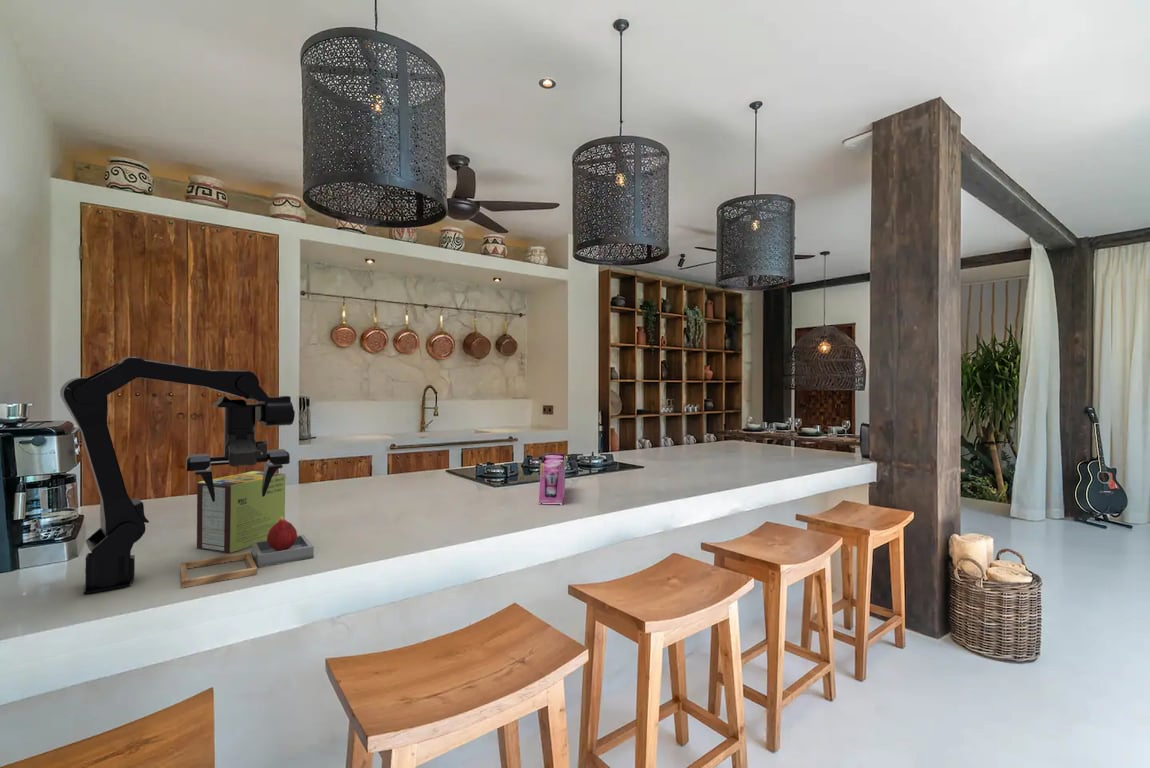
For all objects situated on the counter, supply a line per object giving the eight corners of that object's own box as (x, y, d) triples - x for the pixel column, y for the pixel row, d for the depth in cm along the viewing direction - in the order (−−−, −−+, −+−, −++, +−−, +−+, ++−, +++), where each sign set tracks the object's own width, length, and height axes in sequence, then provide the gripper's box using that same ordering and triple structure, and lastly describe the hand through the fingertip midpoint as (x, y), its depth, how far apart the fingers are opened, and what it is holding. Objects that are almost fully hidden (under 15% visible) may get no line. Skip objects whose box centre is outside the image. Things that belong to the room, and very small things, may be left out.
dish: (257, 567, 110) (257, 555, 110) (251, 553, 118) (251, 542, 118) (313, 557, 116) (313, 546, 116) (303, 545, 125) (303, 534, 125)
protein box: (285, 534, 133) (286, 473, 132) (229, 554, 118) (230, 485, 118) (253, 530, 136) (254, 470, 135) (194, 548, 121) (195, 481, 121)
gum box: (562, 506, 168) (563, 464, 167) (538, 506, 168) (538, 463, 168) (565, 490, 192) (566, 453, 191) (543, 490, 192) (544, 453, 192)
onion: (301, 549, 120) (302, 514, 120) (288, 557, 114) (288, 520, 114) (276, 548, 120) (276, 513, 120) (261, 557, 114) (261, 520, 114)
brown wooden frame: (181, 588, 99) (181, 581, 99) (180, 568, 108) (180, 562, 108) (257, 574, 106) (257, 568, 106) (249, 557, 116) (249, 551, 116)
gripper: (188, 433, 103) (187, 512, 103) (294, 429, 114) (293, 500, 114) (186, 428, 112) (185, 501, 112) (285, 424, 123) (284, 491, 123)
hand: (239, 498), depth 115 cm, fingers open, 9 cm apart
